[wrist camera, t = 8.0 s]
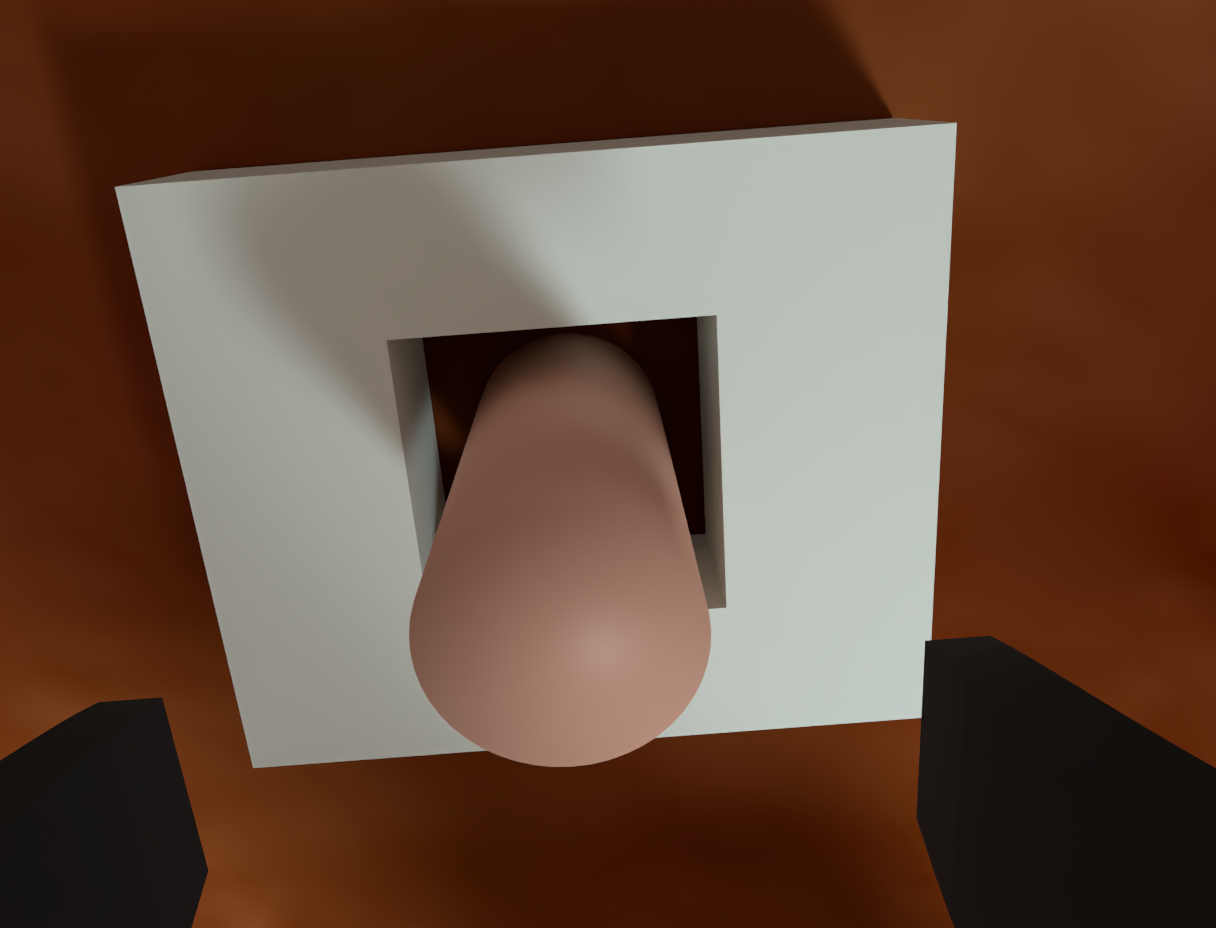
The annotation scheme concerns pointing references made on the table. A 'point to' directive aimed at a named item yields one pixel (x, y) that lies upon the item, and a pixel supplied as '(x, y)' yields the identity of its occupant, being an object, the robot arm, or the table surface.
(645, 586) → the dowel
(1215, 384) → the table surface
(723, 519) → the socket block
